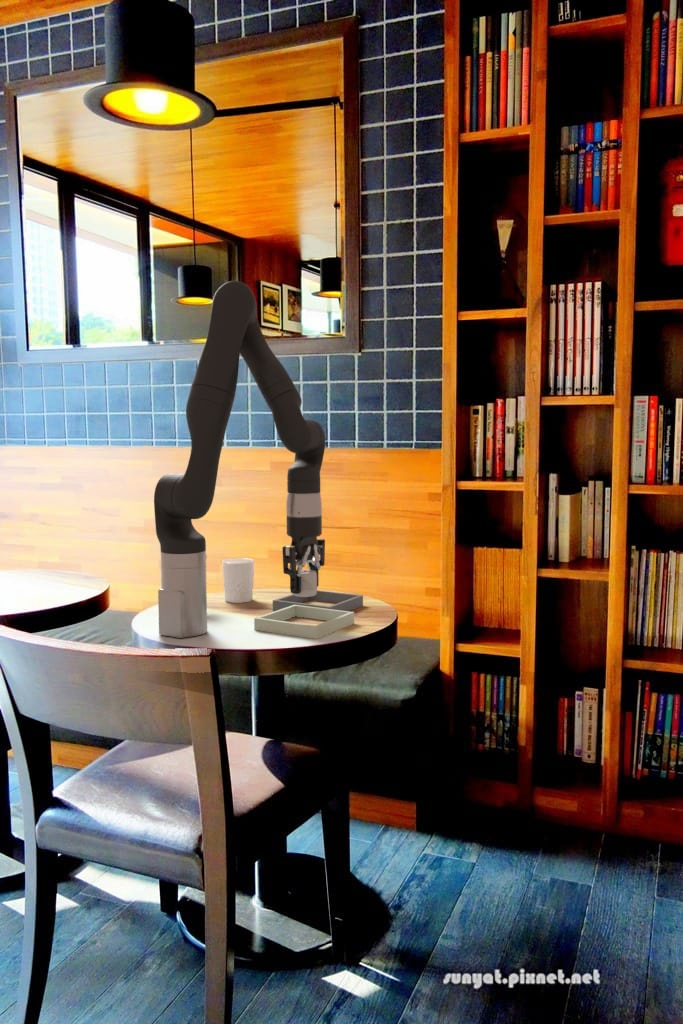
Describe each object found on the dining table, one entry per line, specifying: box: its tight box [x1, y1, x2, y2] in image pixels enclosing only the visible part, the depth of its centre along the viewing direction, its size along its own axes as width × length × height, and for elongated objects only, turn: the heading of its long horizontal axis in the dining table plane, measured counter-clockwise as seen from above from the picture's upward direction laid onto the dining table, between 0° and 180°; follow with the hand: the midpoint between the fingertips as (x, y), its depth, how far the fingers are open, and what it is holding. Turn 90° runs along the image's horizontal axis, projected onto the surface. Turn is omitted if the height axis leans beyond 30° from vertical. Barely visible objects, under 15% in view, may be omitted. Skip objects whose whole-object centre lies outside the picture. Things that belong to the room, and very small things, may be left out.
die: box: [292, 569, 318, 597], centre depth 177 cm, size 5×5×5 cm
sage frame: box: [253, 605, 355, 640], centre depth 177 cm, size 16×16×2 cm
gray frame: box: [272, 589, 364, 612], centre depth 195 cm, size 16×16×2 cm
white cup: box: [221, 557, 255, 604], centre depth 204 cm, size 8×8×10 cm
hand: (304, 589), depth 177 cm, fingers closed on die, 7 cm apart
